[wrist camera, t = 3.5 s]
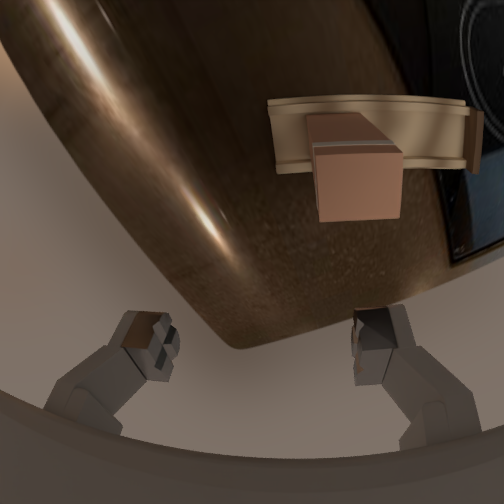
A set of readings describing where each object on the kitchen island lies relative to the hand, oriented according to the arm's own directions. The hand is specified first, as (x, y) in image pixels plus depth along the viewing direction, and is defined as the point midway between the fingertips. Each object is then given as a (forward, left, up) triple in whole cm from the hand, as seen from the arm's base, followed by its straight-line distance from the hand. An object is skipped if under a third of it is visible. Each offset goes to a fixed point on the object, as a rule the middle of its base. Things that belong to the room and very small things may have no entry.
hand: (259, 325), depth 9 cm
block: (+5, +3, -28) cm, 29 cm away
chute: (+8, +7, -29) cm, 31 cm away
